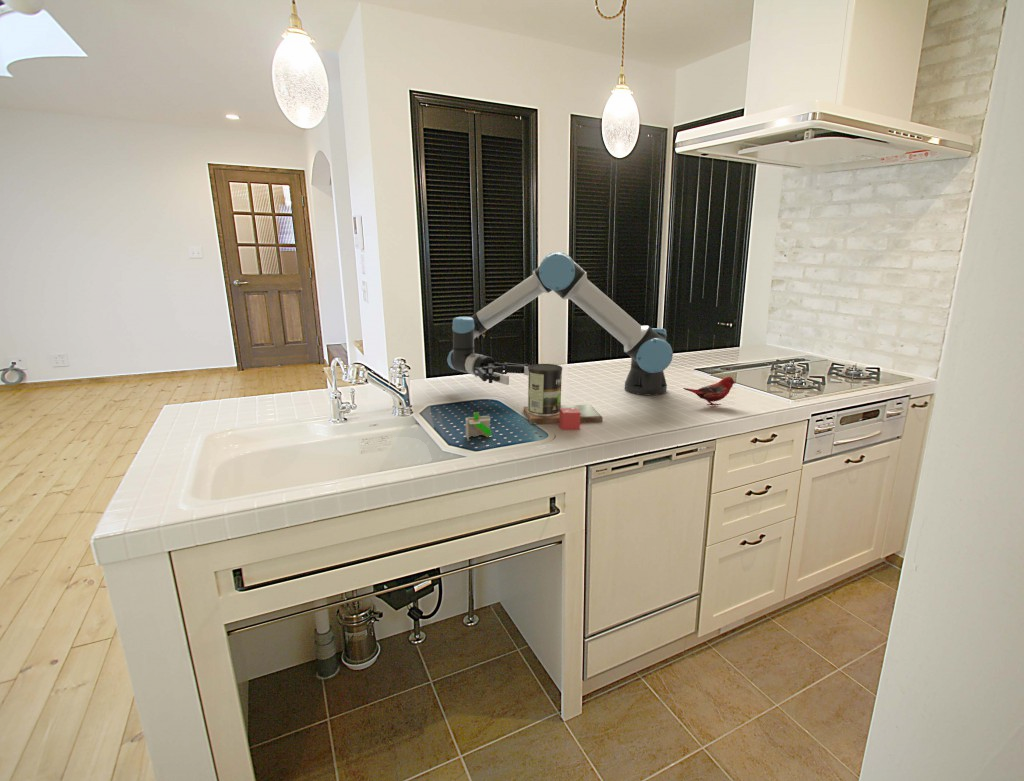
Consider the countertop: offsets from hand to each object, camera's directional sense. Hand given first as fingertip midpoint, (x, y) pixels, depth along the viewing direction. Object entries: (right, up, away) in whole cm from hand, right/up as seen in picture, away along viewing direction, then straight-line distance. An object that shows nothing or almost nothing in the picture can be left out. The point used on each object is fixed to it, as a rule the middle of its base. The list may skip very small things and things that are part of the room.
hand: (524, 377), depth 166 cm
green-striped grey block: (-13, -18, -21) cm, 30 cm away
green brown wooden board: (+12, -12, -3) cm, 17 cm away
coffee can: (+6, -11, -4) cm, 13 cm away
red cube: (+13, -15, -12) cm, 23 cm away
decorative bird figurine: (+61, -10, +10) cm, 63 cm away
